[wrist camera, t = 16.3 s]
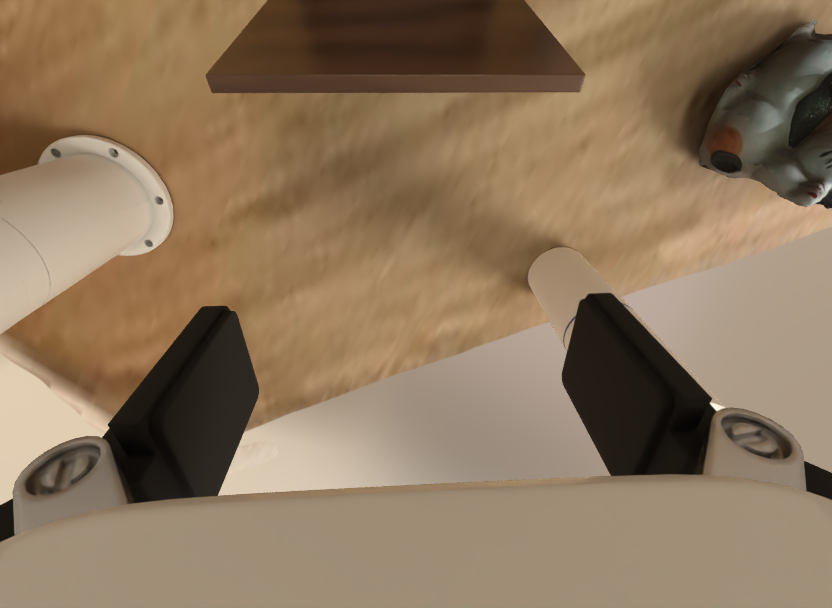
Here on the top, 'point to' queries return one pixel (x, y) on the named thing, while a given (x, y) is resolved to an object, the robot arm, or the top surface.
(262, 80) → the lid
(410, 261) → the top surface
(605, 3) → the top surface
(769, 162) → the lucky cat figurine
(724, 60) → the top surface
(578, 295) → the cylindrical container
